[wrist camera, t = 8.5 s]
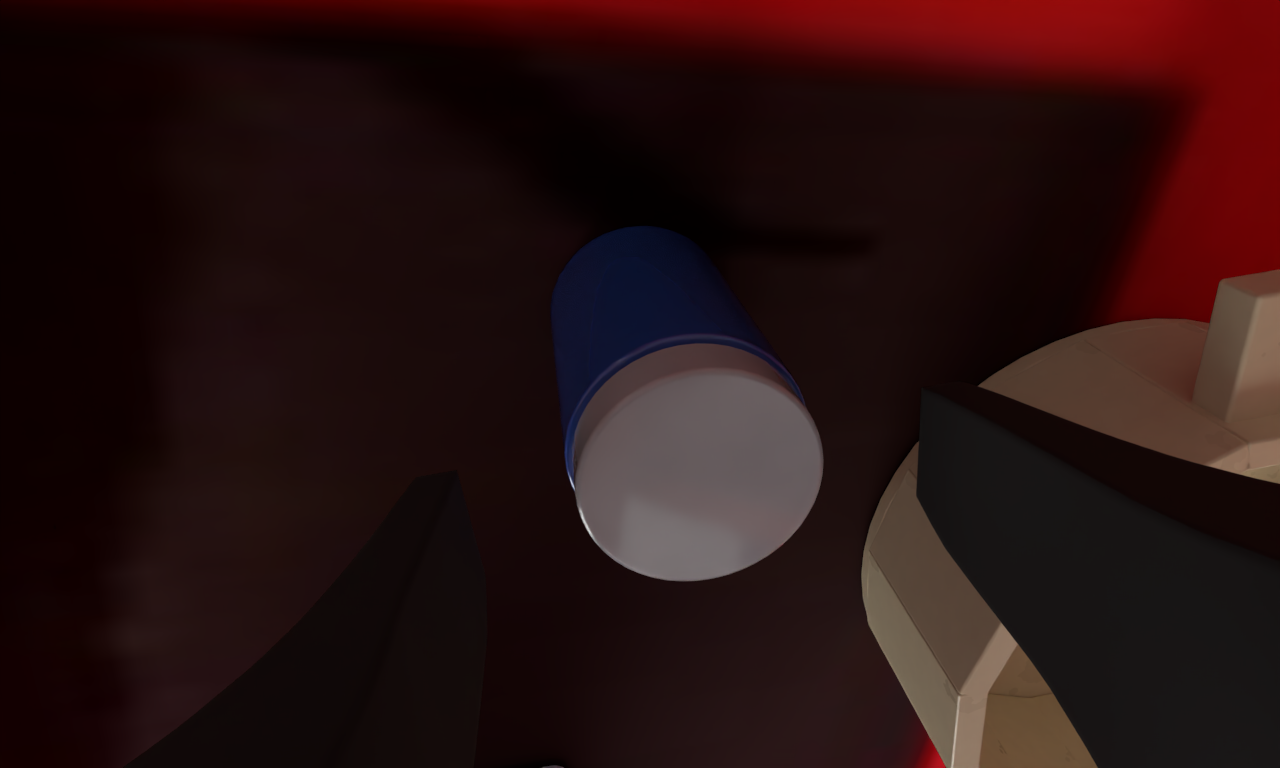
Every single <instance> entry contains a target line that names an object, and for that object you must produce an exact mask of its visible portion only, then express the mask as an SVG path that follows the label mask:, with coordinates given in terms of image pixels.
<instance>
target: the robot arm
mask: <svg viewBox="0 0 1280 768" xmlns="http://www.w3.org/2000/svg"><path fill="white" fill-rule="evenodd" d="M916 497H917V499H918V500H919V502H920V504H921V506H922V508H923V510H924V512H925V514H926V516H927V517H928V519H929V521H930V523H931V525H932V527H933V528H934V530H935V532H936V534H937V535H938V537H939V539H940V540H941V542H942V544H943V546H944V547H945V549H946V550H947V552H948V553H949V554H950V556H951V557H952V558H953V560H954V561H955V562H956V564H957V565H958V566H959V568H960V569H961V570H962V572H963V573H964V574H965V576H966V577H967V578H968V580H969V581H970V582H971V584H972V585H973V586H974V588H975V589H976V590H977V592H978V593H979V594H980V596H981V597H982V598H983V599H984V601H985V602H986V603H987V605H988V606H989V607H990V609H991V610H992V611H993V612H994V614H995V615H996V616H997V618H998V619H999V620H1000V622H1001V623H1002V624H1003V625H1004V627H1005V628H1006V629H1007V631H1008V632H1009V633H1010V635H1011V636H1012V637H1013V638H1014V640H1015V641H1016V642H1017V644H1018V645H1019V646H1020V648H1021V649H1022V650H1023V651H1024V653H1025V654H1026V655H1027V657H1028V658H1029V659H1030V661H1031V662H1032V663H1033V665H1034V666H1035V668H1036V669H1037V671H1038V672H1039V673H1040V675H1041V676H1042V678H1043V679H1044V681H1045V682H1046V683H1047V685H1048V686H1049V688H1050V689H1051V691H1052V693H1053V694H1054V696H1055V697H1056V699H1057V701H1058V702H1059V704H1060V706H1061V707H1062V709H1063V711H1064V712H1065V714H1066V715H1067V717H1068V719H1069V720H1070V722H1071V724H1072V725H1073V727H1074V728H1075V730H1076V732H1077V733H1078V735H1079V737H1080V738H1081V740H1082V742H1083V743H1084V745H1085V746H1086V748H1087V750H1088V752H1089V753H1090V755H1091V757H1092V759H1093V760H1094V762H1095V764H1096V766H1097V767H1098V768H1280V484H1279V483H1274V482H1270V481H1265V480H1261V479H1256V478H1252V477H1248V476H1244V475H1240V474H1236V473H1232V472H1229V471H1225V470H1221V469H1217V468H1213V467H1210V466H1206V465H1202V464H1198V463H1194V462H1191V461H1187V460H1184V459H1181V458H1177V457H1174V456H1170V455H1167V454H1164V453H1161V452H1158V451H1155V450H1152V449H1149V448H1146V447H1143V446H1140V445H1136V444H1133V443H1130V442H1127V441H1124V440H1121V439H1118V438H1116V437H1113V436H1110V435H1107V434H1104V433H1101V432H1099V431H1096V430H1093V429H1090V428H1088V427H1085V426H1082V425H1080V424H1077V423H1074V422H1072V421H1069V420H1066V419H1064V418H1061V417H1058V416H1056V415H1053V414H1051V413H1048V412H1045V411H1043V410H1040V409H1038V408H1035V407H1033V406H1030V405H1027V404H1025V403H1022V402H1020V401H1017V400H1014V399H1012V398H1009V397H1007V396H1004V395H1001V394H998V393H996V392H993V391H990V390H987V389H985V388H982V387H979V386H975V385H972V384H969V383H965V382H962V381H956V382H951V383H945V384H939V385H934V386H928V387H922V389H921V409H920V428H919V448H918V468H917V488H916ZM486 645H487V600H486V576H485V572H484V568H483V565H482V561H481V557H480V554H479V550H478V546H477V543H476V539H475V535H474V532H473V528H472V524H471V521H470V517H469V513H468V510H467V506H466V502H465V499H464V495H463V491H462V488H461V484H460V480H459V476H458V473H457V470H454V471H449V472H443V473H438V474H432V475H426V476H421V477H416V478H415V479H414V480H413V482H412V483H411V484H410V485H409V487H408V488H407V489H406V491H405V492H404V493H403V495H402V496H401V497H400V499H399V500H398V501H397V503H396V504H395V505H394V507H393V508H392V509H391V511H390V512H389V513H388V515H387V516H386V518H385V519H384V520H383V522H382V523H381V524H380V526H379V527H378V528H377V530H376V531H375V532H374V534H373V535H372V536H371V537H370V539H369V540H368V541H367V543H366V544H365V545H364V546H363V548H362V549H361V550H360V552H359V553H358V554H357V555H356V557H355V558H354V559H353V560H352V562H351V563H350V564H349V565H348V567H347V568H346V569H345V570H344V571H343V572H342V573H341V575H340V576H339V577H338V578H337V579H336V580H335V582H334V583H333V584H332V585H331V586H330V587H329V588H328V590H327V591H326V592H325V593H324V594H323V595H322V596H321V598H320V599H319V600H318V601H317V602H316V603H315V605H314V606H313V607H312V608H311V609H310V610H309V611H308V612H307V613H306V614H305V615H304V616H303V617H302V619H301V620H300V621H299V622H298V623H297V624H296V625H295V626H294V627H293V628H292V629H291V630H290V631H289V632H288V633H287V634H286V635H285V636H284V637H283V638H282V639H280V640H279V641H278V642H277V643H276V644H275V645H274V646H273V647H272V648H271V649H270V650H269V651H268V652H267V653H266V654H265V655H264V656H263V657H262V658H261V659H259V660H258V661H257V662H256V663H255V664H254V665H253V666H252V667H251V668H250V669H248V670H247V671H246V672H245V673H244V674H243V675H241V676H240V677H239V678H238V679H237V680H235V681H234V682H233V683H232V684H230V685H229V686H228V687H227V688H226V689H224V690H223V691H222V692H221V693H220V694H218V695H217V696H216V697H215V698H214V699H212V700H211V701H210V702H209V703H208V704H206V705H205V706H204V707H203V708H202V709H200V710H199V711H198V712H197V713H196V714H194V715H193V716H192V717H191V718H189V719H188V720H187V721H186V722H184V723H183V724H182V725H180V726H179V727H178V728H177V729H175V730H174V731H172V732H171V733H170V734H168V735H167V736H166V737H164V738H163V739H162V740H160V741H159V742H158V743H156V744H155V745H154V746H152V747H151V748H150V749H148V750H147V751H145V752H144V753H143V754H141V755H140V756H138V757H137V758H135V759H134V760H133V761H131V762H130V763H128V764H127V765H125V766H124V767H123V768H474V762H475V752H476V743H477V733H478V724H479V714H480V705H481V695H482V686H483V676H484V666H485V656H486ZM541 768H563V767H562V766H557V765H551V766H546V767H541Z"/></svg>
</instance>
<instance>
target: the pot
mask: <svg viewBox="0 0 1280 768" xmlns="http://www.w3.org/2000/svg"><path fill="white" fill-rule="evenodd" d="M978 386H979V387H982V388H985V389H987V390H990V391H993V392H996V393H998V394H1001V395H1004V396H1007V397H1009V398H1012V399H1014V400H1017V401H1020V402H1022V403H1025V404H1027V405H1030V406H1033V407H1035V408H1038V409H1040V410H1043V411H1045V412H1048V413H1051V414H1053V415H1056V416H1058V417H1061V418H1064V419H1066V420H1069V421H1072V422H1074V423H1077V424H1080V425H1082V426H1085V427H1088V428H1090V429H1093V430H1096V431H1099V432H1101V433H1104V434H1107V435H1110V436H1113V437H1116V438H1118V439H1121V440H1124V441H1127V442H1130V443H1133V444H1136V445H1140V446H1143V447H1146V448H1149V449H1152V450H1155V451H1158V452H1161V453H1164V454H1167V455H1170V456H1174V457H1177V458H1181V459H1184V460H1187V461H1191V462H1194V463H1198V464H1202V465H1206V466H1210V467H1213V468H1217V469H1221V470H1225V471H1229V472H1232V473H1236V474H1240V475H1244V476H1248V477H1252V478H1256V479H1261V480H1265V481H1270V482H1274V483H1279V484H1280V269H1279V270H1273V271H1267V272H1261V273H1255V274H1249V275H1244V276H1238V277H1232V278H1226V279H1222V280H1221V281H1220V282H1219V285H1218V289H1217V294H1216V298H1215V302H1214V306H1213V311H1212V315H1211V319H1210V323H1205V322H1199V321H1193V320H1187V319H1155V318H1154V319H1144V320H1135V321H1126V322H1119V323H1115V324H1111V325H1106V326H1102V327H1098V328H1094V329H1089V330H1086V331H1083V332H1080V333H1077V334H1075V335H1072V336H1069V337H1066V338H1063V339H1061V340H1058V341H1055V342H1053V343H1051V344H1048V345H1046V346H1044V347H1042V348H1040V349H1038V350H1036V351H1034V352H1032V353H1030V354H1027V355H1025V356H1023V357H1021V358H1020V359H1018V360H1016V361H1015V362H1013V363H1011V364H1010V365H1008V366H1006V367H1005V368H1003V369H1002V370H1000V371H998V372H997V373H995V374H993V375H992V376H990V377H989V378H987V379H986V380H985V381H983V382H982V383H981V384H979V385H978ZM918 448H919V441H918V442H917V443H916V445H915V446H914V447H913V448H912V450H911V451H910V453H909V454H908V455H907V457H906V458H905V460H904V461H903V462H902V464H901V465H900V466H899V468H898V469H897V471H896V472H895V474H894V476H893V477H892V479H891V481H890V483H889V485H888V486H887V488H886V490H885V492H884V494H883V495H882V497H881V499H880V502H879V504H878V507H877V509H876V512H875V514H874V517H873V519H872V522H871V524H870V527H869V531H868V535H867V539H866V543H865V547H864V553H863V563H862V573H861V578H862V593H863V601H864V605H865V609H866V613H867V617H868V618H867V622H868V625H869V627H870V628H871V630H872V632H873V634H874V636H875V638H876V639H877V641H878V643H879V645H880V647H881V649H882V650H883V652H884V654H885V656H886V658H887V660H888V661H889V663H890V665H891V667H892V669H893V671H894V672H895V674H896V676H897V678H898V680H899V682H900V683H901V685H902V687H903V689H904V691H905V693H906V694H907V696H908V698H909V700H910V702H911V704H912V705H913V707H914V709H915V711H916V713H917V714H918V716H919V718H920V720H921V722H922V724H923V725H924V727H925V729H926V731H927V733H928V735H929V736H930V738H931V740H932V742H933V744H934V746H935V747H936V749H937V751H938V753H939V755H940V757H941V758H942V760H943V762H944V764H945V766H946V768H1098V767H1097V766H1096V764H1095V762H1094V760H1093V759H1092V757H1091V755H1090V753H1089V752H1088V750H1087V748H1086V746H1085V745H1084V743H1083V742H1082V740H1081V738H1080V737H1079V735H1078V733H1077V732H1076V730H1075V728H1074V727H1073V725H1072V724H1071V722H1070V720H1069V719H1068V717H1067V715H1066V714H1065V712H1064V711H1063V709H1062V707H1061V706H1060V704H1059V702H1058V701H1057V699H1056V697H1055V696H1054V694H1053V693H1052V691H1051V689H1050V688H1049V686H1048V685H1047V683H1046V682H1045V681H1044V679H1043V678H1042V676H1041V675H1040V673H1039V672H1038V671H1037V669H1036V668H1035V666H1034V665H1033V663H1032V662H1031V661H1030V659H1029V658H1028V657H1027V655H1026V654H1025V653H1024V651H1023V650H1022V649H1021V648H1020V646H1019V645H1018V644H1017V642H1016V641H1015V640H1014V638H1013V637H1012V636H1011V635H1010V633H1009V632H1008V631H1007V629H1006V628H1005V627H1004V625H1003V624H1002V623H1001V622H1000V620H999V619H998V618H997V616H996V615H995V614H994V612H993V611H992V610H991V609H990V607H989V606H988V605H987V603H986V602H985V601H984V599H983V598H982V597H981V596H980V594H979V593H978V592H977V590H976V589H975V588H974V586H973V585H972V584H971V582H970V581H969V580H968V578H967V577H966V576H965V574H964V573H963V572H962V570H961V569H960V568H959V566H958V565H957V564H956V562H955V561H954V560H953V558H952V557H951V556H950V554H949V553H948V552H947V550H946V549H945V547H944V546H943V544H942V542H941V540H940V539H939V537H938V535H937V534H936V532H935V530H934V528H933V527H932V525H931V523H930V521H929V519H928V517H927V516H926V514H925V512H924V510H923V508H922V506H921V504H920V502H919V500H918V499H917V497H916V488H917V468H918Z"/></svg>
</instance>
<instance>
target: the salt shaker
mask: <svg viewBox="0 0 1280 768" xmlns="http://www.w3.org/2000/svg"><path fill="white" fill-rule="evenodd" d="M550 319H551V328H552V338H553V348H554V358H555V368H556V378H557V387H558V397H559V407H560V417H561V427H562V437H563V447H564V456H565V465H566V471H567V474H568V478H569V482H570V484H571V486H572V488H573V491H574V493H575V497H576V504H577V508H578V511H579V515H580V518H581V520H582V522H583V524H584V527H585V529H586V530H587V532H588V533H589V535H590V536H591V538H592V539H593V540H594V542H595V543H596V544H597V545H598V546H599V547H600V548H601V549H602V550H603V551H604V552H605V553H606V554H607V555H609V556H610V557H611V558H612V559H613V560H615V561H616V562H618V563H619V564H621V565H623V566H624V567H626V568H628V569H630V570H633V571H635V572H637V573H639V574H643V575H646V576H649V577H652V578H658V579H663V580H671V581H699V580H706V579H713V578H717V577H721V576H725V575H728V574H731V573H734V572H737V571H740V570H742V569H744V568H747V567H749V566H751V565H753V564H755V563H757V562H758V561H760V560H762V559H763V558H765V557H767V556H768V555H770V554H771V553H772V552H774V551H775V550H776V549H778V548H779V547H780V546H781V545H782V544H784V543H785V542H786V541H787V540H788V539H789V538H790V537H791V536H792V535H793V534H794V532H795V531H796V530H797V529H798V528H799V527H800V525H801V524H802V523H803V521H804V520H805V518H806V517H807V515H808V514H809V512H810V510H811V508H812V506H813V504H814V502H815V500H816V497H817V494H818V491H819V488H820V484H821V479H822V474H823V459H824V458H823V447H822V442H821V438H820V434H819V431H818V428H817V426H816V424H815V422H814V419H813V418H812V416H811V415H810V413H809V411H808V410H807V408H806V404H805V400H804V397H803V395H802V392H801V390H800V388H799V386H798V384H797V383H796V381H795V379H794V378H793V376H792V375H791V373H790V372H789V370H788V369H787V367H786V366H785V365H784V363H783V362H782V360H781V359H780V357H779V356H778V355H777V353H776V352H775V350H774V349H773V347H772V346H771V344H770V343H769V342H768V340H767V339H766V337H765V336H764V334H763V333H762V332H761V330H760V329H759V327H758V326H757V324H756V323H755V322H754V320H753V319H752V317H751V316H750V314H749V313H748V312H747V310H746V309H745V307H744V306H743V304H742V303H741V301H740V300H739V299H738V297H737V296H736V294H735V293H734V291H733V290H732V289H731V287H730V286H729V284H728V283H727V281H726V280H725V279H724V277H723V276H722V274H721V273H720V271H719V270H718V269H717V267H716V266H715V264H714V263H713V261H712V260H711V259H710V257H709V256H708V255H707V254H706V253H705V252H704V250H703V249H701V248H700V247H699V246H698V245H697V244H696V243H694V242H693V241H691V240H690V239H688V238H687V237H685V236H683V235H681V234H679V233H676V232H674V231H671V230H668V229H664V228H659V227H653V226H633V227H626V228H621V229H617V230H614V231H611V232H608V233H605V234H603V235H601V236H599V237H597V238H596V239H594V240H592V241H591V242H589V243H588V244H586V245H585V246H584V247H582V248H581V249H580V250H579V251H578V252H577V253H576V254H575V255H574V256H573V257H572V258H571V259H570V261H569V262H568V263H567V264H566V266H565V267H564V269H563V270H562V272H561V274H560V276H559V278H558V280H557V282H556V285H555V288H554V291H553V294H552V300H551V308H550Z"/></svg>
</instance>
